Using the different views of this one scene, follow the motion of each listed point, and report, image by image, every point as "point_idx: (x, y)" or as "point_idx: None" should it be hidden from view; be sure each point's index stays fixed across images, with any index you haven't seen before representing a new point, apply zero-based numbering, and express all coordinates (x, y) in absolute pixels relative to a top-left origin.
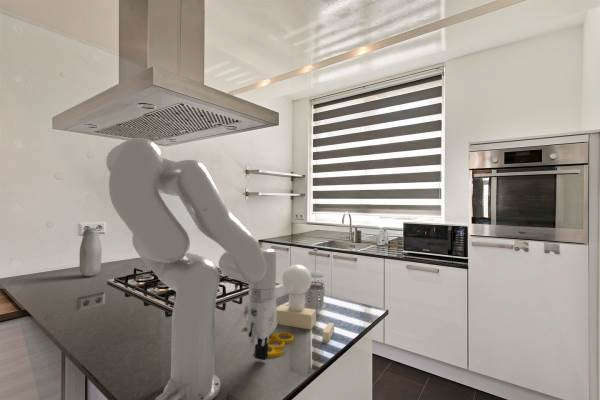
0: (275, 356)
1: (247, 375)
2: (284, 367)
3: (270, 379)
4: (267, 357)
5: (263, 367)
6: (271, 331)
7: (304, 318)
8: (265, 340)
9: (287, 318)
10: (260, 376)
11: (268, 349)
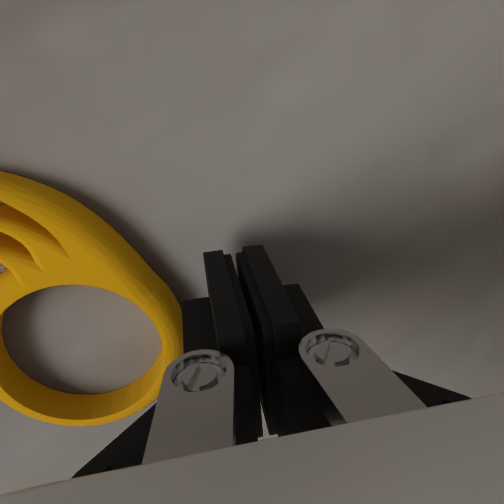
0: (88, 210)
1: (451, 254)
2: (223, 7)
3: (463, 45)
4: (150, 268)
5: (309, 210)
6: (284, 456)
7: None
8: (235, 393)
9: None
10: (441, 157)
11: (2, 343)
